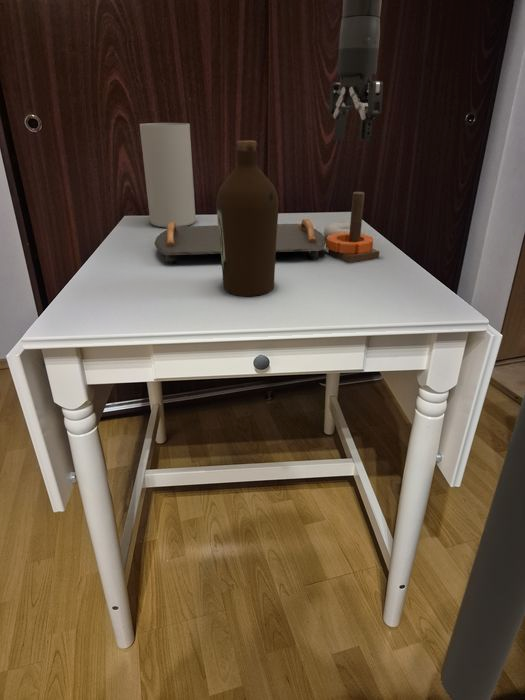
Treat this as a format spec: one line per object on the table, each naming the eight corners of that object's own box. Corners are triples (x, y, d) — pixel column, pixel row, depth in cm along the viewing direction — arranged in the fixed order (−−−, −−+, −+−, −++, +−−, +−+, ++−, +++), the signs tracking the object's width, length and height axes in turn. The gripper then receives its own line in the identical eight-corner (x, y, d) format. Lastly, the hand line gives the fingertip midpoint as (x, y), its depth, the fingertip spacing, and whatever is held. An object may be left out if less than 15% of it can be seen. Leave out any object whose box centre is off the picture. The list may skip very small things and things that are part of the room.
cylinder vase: (153, 218, 140) (143, 122, 128) (197, 217, 140) (191, 122, 129) (147, 228, 129) (135, 125, 117) (194, 228, 129) (187, 125, 118)
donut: (372, 241, 118) (343, 232, 125) (374, 227, 117) (344, 218, 124) (343, 248, 113) (314, 238, 120) (344, 233, 111) (315, 224, 118)
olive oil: (279, 278, 94) (281, 138, 82) (274, 299, 84) (276, 144, 73) (225, 276, 95) (220, 138, 83) (214, 296, 85) (207, 143, 74)
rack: (378, 257, 106) (386, 194, 99) (349, 263, 103) (354, 197, 96) (356, 248, 112) (362, 188, 106) (327, 253, 109) (331, 191, 102)
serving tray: (150, 267, 100) (147, 237, 97) (160, 238, 120) (158, 212, 117) (334, 261, 103) (336, 232, 100) (313, 234, 124) (315, 209, 121)
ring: (381, 249, 106) (382, 240, 105) (345, 256, 102) (346, 246, 101) (352, 239, 114) (353, 230, 113) (318, 244, 110) (318, 236, 109)
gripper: (399, 44, 88) (388, 141, 95) (352, 50, 99) (345, 136, 107) (366, 43, 85) (357, 143, 92) (321, 49, 96) (317, 138, 104)
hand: (351, 139), depth 99 cm, fingers open, 8 cm apart
